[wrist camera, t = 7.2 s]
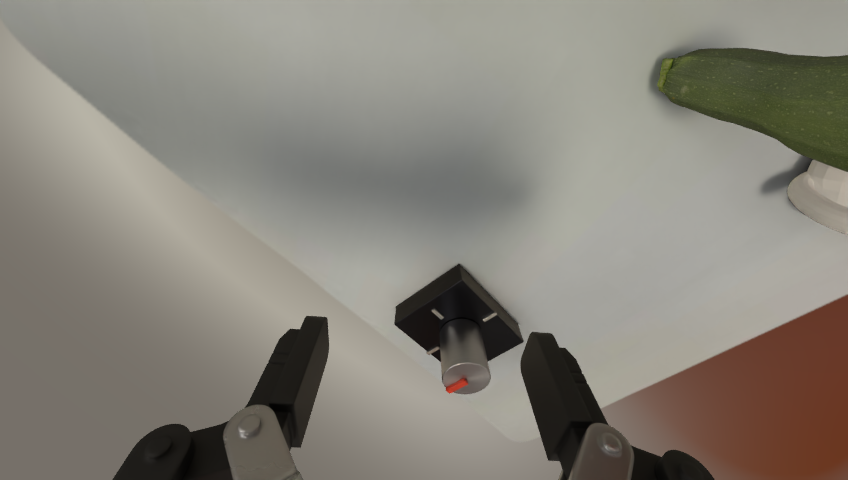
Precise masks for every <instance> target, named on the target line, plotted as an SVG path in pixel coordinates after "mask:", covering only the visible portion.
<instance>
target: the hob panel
mask: <svg viewBox="0 0 848 480" xmlns="http://www.w3.org/2000/svg"><path fill="white" fill-rule="evenodd" d="M455 319H468V320H471V321H473V322H475V323H476V324H478V326H479V327H480V329H481V332H482V337H483V342H484V346H485V351H486V356H487V361H489V360H491V359H493V358H495V357H497V356H499V355H500V354H502V353H504V352H506V351H508V350H510V349H511V348H513V347H515V346H517V345H519V344H521V343H523V342H524V341H523V338H522V335H521V332H520V329H519V326H518V324H517V323H516V322H515V321H514V320H513V319H512V317H511V316H510V315H509V314H508V313H507V312H506V311H505V310H504V309H503V308H502V307H501V306H500V305H499V304H498V303H497V302H496V301H495V300H494V299H493V298H492V297H491V296H490V295H489V294H488V293H487V292H486V291H485V290H484V289H483V288H482V287H481V286H480V285H479V284H478V283H477V282H476V281H475V280H474V279H473V278H472V277H471V276H470V274H469V273H468V272H467V271H466V270H465V269H464V268H463V267H462V266H461V265H460V264H458V265H457V266H455V267H454V268H452V269H451V270H449V271H448V272H446V273H445V274H443V275H442V276H440V277H439V278H438V279H436V280H435V281H433V282H432V283H430V284H429V285H427V286H426V287H424V288H423V289H421V290H420V291H419V292H417V293H416V294H414V295H413V296H411V297H410V298H408V299H407V300H405V301H404V302H402V303H401V304H399V305H398V306H397V307H396V314H395V325H396V326H397V327H398V328H399V329H401V330H402V331H403V332H404V333H406V334H407V335H408V336H409V337H411V338H412V339H413V340H414V341H415V342H417V343H418V344H419V345H420V346H422V347H423V348H424V349H425V350H427V351H428V352H427V354H428V355H430V354H432V355H433V356H434V357H435V358H436V359H438V360H439V361H440V362H441V351H440V331H441V329H442V327H443V326H444V325H445V324H446V323H448V322H450V321H452V320H455Z"/></svg>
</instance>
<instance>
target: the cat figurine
mask: <svg viewBox="0 0 848 480" xmlns="http://www.w3.org/2000/svg"><path fill="white" fill-rule="evenodd" d="M787 194H788V197H789V199H790V201H791V202H792V203H793V204H794V206H795V207H796V208H797V209H799V210H800V211H801V212H802V213H803V214H805V215H806V216H808V217H810V218H811V219H813V220H814V221H816V222H818V223H820V224H822V225H824V226H826V227H828V228H831V229H833V230H836V231H838V232H841V233H844V234H847V235H848V172H846V171H843V170H840V169H837V168H834V167H832V166H829V165H826V164H823V163H821V162H818V161H816V160H812V162H811V164H810V166H809V168H808V171H807V172H804V173H802V174H800V175H799V176H797V177H796V178H794V179H793V180H792V181H791V182H790V184H789V186H788V190H787Z"/></svg>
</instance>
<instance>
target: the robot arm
mask: <svg viewBox="0 0 848 480" xmlns="http://www.w3.org/2000/svg"><path fill="white" fill-rule="evenodd" d="M328 352H329V337H328V322H327V318H326V317H317V316H306V318H305V319H304V322H303V324H302V326H301V329H300V330H299V329H290V330H289V331H287V332H286V334H284V335H283V336H282V337H281V338H280V339H279V341H278V343H277V345H276V347H275V349H274V352H273V354H272V355H271V357H270V360H269V363H268V364H267V366H266V368H265V370H264V372H263V374H262V376H261V378H260V380H259V382H258V384H257V386H256V388H255V390H254V392H253V394H252V397H251V398H250V401H249V402H248V404H247V406H246V407H245V408H244V409H242V410H241V411H239V412H238V413H236V414H235V415H234V416H233V417H232V418H231V419H230V420H229V421H227V422H225V423H223V424H221V425H217V426H213V427H209V428H205V429H202V430H197V431H193V432H190V431H189V429H188V428H187V427H185V426H184V425H181V424H169V425H165V426H162V427H159V428H157V429H155V430H154V431H152V432H150V433H149V434H147V435H146V436H145V437H143V438H142V439H141V440H140V441H139V442H138V443H137V444H136V445H135V447H134V448H133V449H132V451H131V452H130V454H129V455H128V457H127V458H126V460H125V461H124V463H123V465H122V466H121V468H120V469H119V471H118V472H117V474H116V475H115V477H114V478H113V480H303V478H302V476H301V474H300V472H298V470H297V469H296V466H295V464H294V461H293V459H292V456H291V453H290V449H291V447H301V444H302V441H303V438H304V435H305V431H306V428H307V425H308V421H309V418H310V415H311V411H312V408H313V405H314V402H315V398H316V395H317V392H318V388H319V385H320V382H321V378H322V375H323V372H324V368H325V365H326V362H327V358H328ZM521 373H522V377H523V380H524V383H525V386H526V390H527V393H528V396H529V399H530V403H531V406H532V409H533V412H534V416H535V419H536V422H537V425H538V429H539V432H540V435H541V438H542V442H543V445H544V448H545V451H546V455H547V458H548V460H550V461H560V462H561V466H562V469H563V470H562V472H561V474H560V476H559V479H558V480H714V478H713V477H712V475H711V474H710V473H709V471H708V470H707V469H706V468H705V467H704V466H703V465H702V464H701V463H700V462H699V461H697V460H696V459H695V458H693V457H692V456H690V455H688V454H686V453H684V452H681V451H677V450H670V451H667V452H666V453H665V454H664V455H663V456H662V457H660V456H657V455H654V454H652V453H649V452H646V451H644V450H641V449H638V448H636V447H633V446H631V445H630V443H629V442H628V441H627V439H626V438H625V437H624V436H623V435H622V434H621V433H620V432H619V431H617V430H616V429H615V428H613V427H611V426H609V425H608V423H607V421H606V419H605V418H604V416H603V413H602V411H601V409H600V407H599V405H598V403H597V401H596V399H595V397H594V395H593V393H592V391H591V389H590V387H589V385H588V384H587V381H586V379H585V377H584V375H583V374H582V371H581V369H580V367H579V365H578V363H577V361H576V359H575V358H574V357H573V356H572V355H571V354H570V353H569V352H568V350H567V349H566V348H559V346H558V344H557V342H556V340H555V338H554V336H553V335H552V334H551V333H538V332H532V333H531V334H530V336H529V338H528V341H527V344H526V347H525V349H524V352H523V355H522V358H521Z"/></svg>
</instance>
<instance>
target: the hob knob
mask: <svg viewBox="0 0 848 480" xmlns="http://www.w3.org/2000/svg"><path fill="white" fill-rule="evenodd" d="M440 351H441V368H442V382H443V384H444V386H445V387H446V391H447V392H448V393H452V392H454V393H458V394H472V393H476V392H478V391H480V390H482V389H484V388H485V387H486V386H487V385H488V384H489V382H490V378H491V375H490V371H489V366H488V361H487V356H486V351H485V346H484V342H483V337H482V332H481V329H480V327H479V326H478V324H476V323H475V322H473V321H471V320H468V319H455V320H452V321H450V322H448V323H446V324H445V325H444V326H443V327H442V329H441V331H440Z"/></svg>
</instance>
